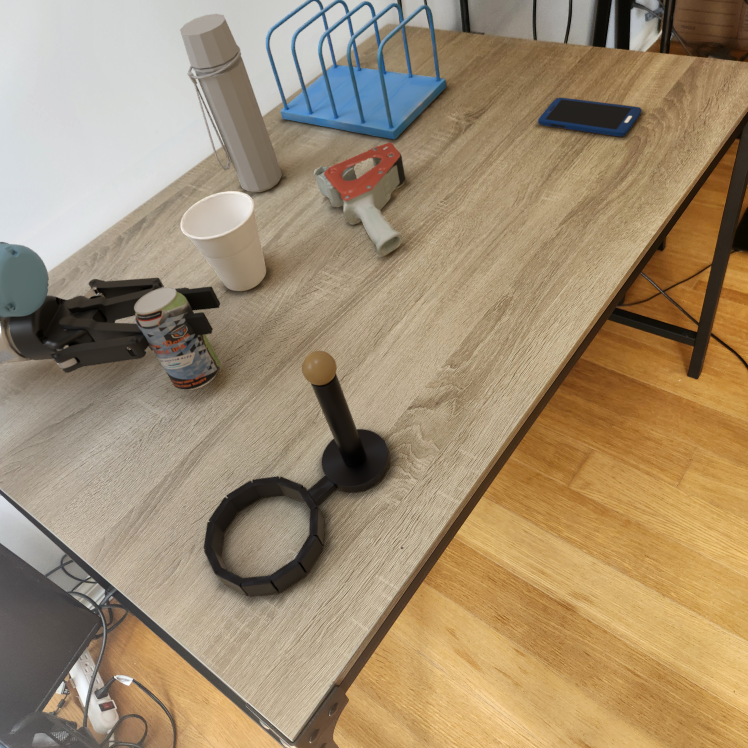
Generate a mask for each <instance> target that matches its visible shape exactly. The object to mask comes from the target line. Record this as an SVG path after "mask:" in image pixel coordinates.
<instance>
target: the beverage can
mask: <svg viewBox="0 0 748 748" xmlns="http://www.w3.org/2000/svg"><path fill="white" fill-rule="evenodd" d="M175 289H176V288H174V287H171V286H164V287H163V288H159V289H156V290H153V291H151V292H149V293H147V294H146V295H144V296H143V297H141V298H140V299H139V300H138V301H137V302H136V304H135V306H134V310H135V312H136V313H135V316H134V321H135V324H137V325H138V327H139V329H140V330H141V331H142V333H143V335H144V336H145V337H146V339H147V341H148V343H149V344H150V347H151V348H152V350H153V351H152V350H151V351H152V352H153V353H154V355H155V357H156V358H157V360H158V361H159V362H158V363H160V365H161V367H162V368H163V370H164V372H165V373H166V375H167V376H168V378H169V380H170V381H171V383H172V385H173V386H174V387H175V388H177V389H179V390H182V391H183V390H187V391H188V390H190V391H191V390H197V389H199V388H203V387H204V386H206V385H208V384H209V383H211V382H212V381H213V380H214V379H215V377H216V375H217V374H218V372H219V371H220V368H221V362H220V361H221V360H220V359H219V357H218V355H217V354H216V352H215V350H214V348H213V346H212V345H211V342H210V340H209V338H208V337H207V334H205V335H197V334H196V333H195V331H194V330H193V329H192V327H191V326H190V325H189V324H188V322H187V321H186V320H185V318H186V316H187V314H191V313H195V312H194V311H193V310H192V308H191V307H190V305H189V303H188V301H187V299H186V297H185V296H183V295H182V294H181V293H178V292H177V291H176V290H175Z"/></svg>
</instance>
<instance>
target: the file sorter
mask: <svg viewBox="0 0 748 748" xmlns="http://www.w3.org/2000/svg"><path fill="white" fill-rule="evenodd" d="M313 2H315V3H317V5H318V7H319V9H320V11H318V12H317V13H316V14H315V15H313V16H311V18H310V19H308V20H307V21H305V23H303V24H302V25H301V26H299V27H298V28H297V29H296V30H295V31H294V32H293V34H292V36H291V37H292V38H291V42H290V43H291V44H290V49H291V55H292V59H293V62H294V66H295V69H296V70H295V71H296V73H297V76H298V80H299V83H300V87H301V90H302V91H301V92H300V93H299V94H298V95H296V96H295V97H294V98H293V99H292V100H290V102H289V103H287V99H286V96H285V93H284V89H283V86H282V83H281V79H280V76H279V73H278V70H277V67H276V64H275V60H274V57H273V54H272V51H271V45H270V44H271V36H272V34H273V33H274V32H275V30H277V29H278V28H279V27H280V26H282V25H283V24H284V23H286V22H287V21H288V20H290V19H291V18H293V17H294V16H295V15H296V14H298V13H299V12H301V10H303V9H304V8H307V6H308V5H310V4H312V3H313ZM338 4H340V5H342V6H343V8H344V11H345V14H344V16H342V17H341V18H339V20H337V21H336V22H334V23H333V24H332V25H331V26H330V27H329V25H328V21H327V17H326V13H327V12H328V11H330V10H331V9H332V8H334V7H335V6H336V5H338ZM366 6H368V7H369V9H370V13H371V17H372V18H371V19H370V20H369V21H367V22H366V23H365V24H364V25H362V27H360V28H359V29H358V30H356V32H354V27H353V23H352V19H351V17H352V16H353V15H354V14H356V13H357V12H359V10H361V9H362V8H363V7H366ZM393 8H395V9H396V10H397V13H398V16H399V21H400V23H399V24H398V25H397V26H396V27H395V28H393V29H392V30H391V31H390V32H389V33H388V34H387V35H386V36H385V37H384V38H383V39H382V40H381V38H380V37H381V36H380V31H379V25H378V20H379V19H380V18H382V17H383V16H384V15H385V14H387V13H388V12H389V11H390V10H392V9H393ZM423 10H425V11H426V12H427V17H428V22H429V30H430V39H431V46H432V55H433V64H434V71H435V76H430V75H429V76H428V75H421V74H414V73H413V71H412V63H411V58H410V51H409V45H408V44H409V43H408V38H407V31H406V25H407V24H408V23H409V22H411V20H413V19H414V18H415V17H416V16H417V15H418V14H420V13H421V12H422V11H423ZM320 17H321V18H322V21H323V25H324V30H325V31H323V33H322V34H321V36H320V37H319V41H318V44H317V45H318V46H317V54H318V59H319V63H320V68H321V71H322V74H321V75H320V76H318V78H316V79H315V80H314V81H313V82H312V83H310V84H309V85H308V86H306V84H305V81H304V77H303V73H302V69H301V66H300V63H299V59H298V56H297V51H296V50H297V49H296V42H297V39H298V36H299V35H300V33H301V32H303V31H304V30H305V29H306V28H308V27H309V26H310V25H311V24H313V23H314V22H315V21H316V20H318V19H319V18H320ZM404 18H405V17H404V13H403V9H402V7H401V5H400V4H399V3H397V2H391V3H390V4H388V5H387V6H385V7H384V8H383V9H382V10H380V12H378V13H377V14H376V11H375V7H374V6H373V4H372V3H371V2H370V1H368V0H364V1H361V2H360V3H358V5H356V6H355V7H353V8H352V9H351V10H350V9H349V7H348V4H347V3H346V1H345V0H333V1H332V2H330V3H329V4H328V5H326V6H325V7H324V5H323V3H322V1H321V0H306V1H304V2H302V3H301V4H300V5H298V6H297V7H296V8H295V9H293V10H292V11H291V12H289V13H288V14H286V15H285V16H283V18H281V19H280V20H279V21H277V22H276V23H274V25H272V26H271V27H270V28H269V30H268V31H267V33H266V37H265V50H266V53H267V57H268V59H269V62H270V66H271V70H272V73H273V76H274V80H275V83H276V86H277V88H278V92H279V94H280V99H281V101H282V105H283V107H282V108H281V109H280V115H281V118H282V120H288V121H294V122H298V123H304V124H310V125H315V126H321V127H325V128H331V129H336V130H342V131H347V132H352V133H357V134H362V135H368V136H374V137H378V138H384V139H389V140H396V139H398V137H399V136H400V135H401V134H402V133H403V132H404V131H405V130H406V129H407V128H408V127H409V126H410V125H411V124H412V123H413V122H414V121H415V120H416V119H417V118H418V117H419V116H420V114H422V112H424V111H425V109H427V108H428V107H429V106H430V104H432V103H433V102H434V101H435V99H437V97H438V96H439V95H441V94H442V92H443V91H445V89H446V88H447V80H446V78H445V77H441V75H440V66H439V57H438V56H439V55H438V50H437V49H438V48H437V41H436V32H435V23H434V15H433V12H432V9H431V8H430V6H429V5H428V4H421V5H420V6H419V7H418V8H417V7H416V9H414V11H413V12H411V13H410V14H409V15H408V16H407V17H406V18H405V19H404ZM345 21H347V24H348V29H349V34H350V38H349V41H348V43H347V46H346V61H347V65H342V64H337V60H336V55H335V51H334V46H333V42H332V37H331V33H332V32H334V31H335V30H336V29H338V28H339V27H340V26H341V25H342V24H343V23H344V22H345ZM372 25H373V27H374V33H375V39H376V43H377V49H378V50H377V53H376V62H377V63H376V64H377V69H375V68H374V69H373V68H367V67H361V62H360V61H361V60H360V57H359V52H358V47H357V43H356V39H357V38H358V37H360V35H362V34H363V33H364V32H365V31H366V30H368V29H369V28H370V27H371V26H372ZM400 30H401V34H402V35H401V36H402V41H403V47H404V53H405V60H406V66H407V72H408V73H405V72H397V71H389V70H387V69H386V64H385V58H384V53H383V50H384V47H385V45H386V44H387V43H388V42H389V41H390V40H391V39H392V38H393V37H394V36H395V35H396V34H397V33H398V32H399V31H400ZM325 40H327V43H328V47H329V48H328V49H329V53H330V56H331V57H330V58H331V61H332V66H331V67H329V68H328V69H327V68H326V64H325V59H324V55H323V45H324V42H325ZM352 49H353V53H354V58H355V64H356V66H354V65H353V61H352Z"/></svg>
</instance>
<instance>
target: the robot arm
mask: <svg viewBox="0 0 748 748" xmlns="http://www.w3.org/2000/svg"><path fill="white" fill-rule="evenodd" d="M49 277H50V276H49V272H48V269H47V266H46V264H45V262H44V260H43V259H42V257H41V256H40V255H39V254H38V253H37V252H35V251H34V250H33V249H31V247H28V246H25V245H23V244H16V243H9V242H5V241H0V364H11V363H19V362H27V361H29V362H30V361H43V360H53V361H54V362H55V363H56V364H57V365H58V367H60V369H61V370H62V371H63V372H64V373H66V374H69V373H72V372H74V371H76V370H77V371H78V369H82V368H84V367H85V368H86V367H91V366H98V365H104V364H112V363H118V362H126V361H133V360H138V359H139V360H140V359H143V358H144V357H145V356H146V355H147V351H146V350H147V349H148V348H149V349H150V350H151V352H153V350H152V348H151V347H150V344H149V343H148V341H147V339H146V337H145V336H144V335H143V333H142V331H141V330H140V329H139V327H138V325H137V324H136V323H131V322H130V323H128V322H116V321H118V320H122V319H126V318H130V317H135V313H136V312H135V310H134V306H135V304H136V302H137V301H138V300H139V299H140V298H141V297H143V296H144V295H146V294H147V293H149V292H151V291H153V290H156V289H159V288H163V287H165V285H164V283H163V282H162V281H161V279H160V278H159V277H147V278H134V279H133V278H132V279H131V278H130V279H120V280H119V279H117V280H102V279H98V278H93V279H91V280H90V281H89V282H88V286H89V287H90V289H89V290H88V291H87V292H86V293H85V294H84V295H76V296H73V297H72V298H69V299H66V298H61V297H58V296H55V295H51V294H50V295H49V286H50V285H49V280H50V279H49ZM174 289H175V290H176V291H177V292H178V293H181V294H182V295H183V296H185V297H186V299H187V301H188V303H189V305H190V307H191V308H192V310H193V312H194V311H200V312H194V313H191V314H187V316H186V318H185V320H186V321H187V322H188V324H189V325H190V326H191V327H192V329H193V330H194V331H195V333H196V334H197V335H212V334H213V331H214V330H213V329H214V328H213V326H212V325H211V323H210V321H209V319H208V318H207V316H206V314H205V312H204V311H205V310H213V309H219V308H220V307H221V301H220V300H219V298H218V296H217V294H216V292H215V290H214V288H213V286H202V287H195V288H194V287H193V288H189V287H186V286H185V287H178V288H174ZM202 310H203V311H202ZM128 348H129V349H128Z"/></svg>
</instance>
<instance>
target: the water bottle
mask: <svg viewBox="0 0 748 748" xmlns="http://www.w3.org/2000/svg"><path fill="white" fill-rule="evenodd" d="M225 17H226V16H225V15H224V14H221V13H211V14H205V15H202V16H198V17H195V18H193V19H191V20H190V21H188V22H186V23H184V24H183V26H182V27H181V28H180V29H179V31H180V35H181V38H182V41H183V45H184V48H185V51H186V55H187V57H188V61H189V64H190V67H189V69H188V70H187V73H186V74H187V76H188V78H189V79H190V81H191V83H192V84H193V86H194V89H195V92H196V96H197V100H198V103H199V106H200V110H201V114H202V117H203V120H204V123H205V127H206V130H207V133H208V137H209V140H210V141H209V142H210V144H211V148H212V151H213V154H214V156H215V159H216V161H217V163H218V165H219V166H220V167H221V169H222V170H223V171H227V170H230V169H231V164H232V167H233V169H234V171H235V174H236V176H237V179H238V181H239V184H240V187H241V189H242V190H244V191H247V192H249V193H252V194H253V193H262V192H265V191H268V190H271V189H272V188H274V187H275V186H276V185H278V184H279V183H280V181H281V178H282V176H283V172H282V170H281V167H280V164H279V161H278V158H277V156H276V152H275V150H274V147H273V143H272V141H271V137H270V136H269V132H268V129H267V127H266V124H265V120H264V118H263V114H262V112H261V109H260V106H259V103H258V101H257V96H256V95H255V92H254V88H253V86H252V83H251V80H250V77H249V74H248V71H247V69H246V66H245V62H244V60H243V56H242V53H241V48H240V46H239V45H238V44H237V42H236V40H235V38H234V35H233V33H232V31H231V29H230V26H229V24H228V22H227V20H226V18H225ZM192 70H193V71H194V72H195V75H194V73H193V72H192ZM198 83H199V86H200V89H201V90H202V92H203V95H204V97H203V96H202V94H201V91H200V89H199V86H198V85H197V84H198ZM204 98H205V100H204ZM205 101H206V102H205ZM206 103H207V105H208V107H209V109H208V107H207V105H206ZM204 108H205V111H206V113H207V115H208V118H209V120H210V122H211V125H212V128H213V129H214V132H215V133H216V136H217V138H218V141H219V143H220V145H221V147H222V150H223V152H224V154H225V156H226V159H227V162H226V166H223V165H222V163H221V160H220V159H219V157H218V154H217V150H216V147H215V143H214V140H213V137H212V134H211V131H210V128H209V127H210V126H209V124H208V121H207V118H206V114H205V111H204ZM209 110H210V111H209ZM210 112H211V114H210ZM211 115H212V116H211ZM214 121H215V123H214Z"/></svg>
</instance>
